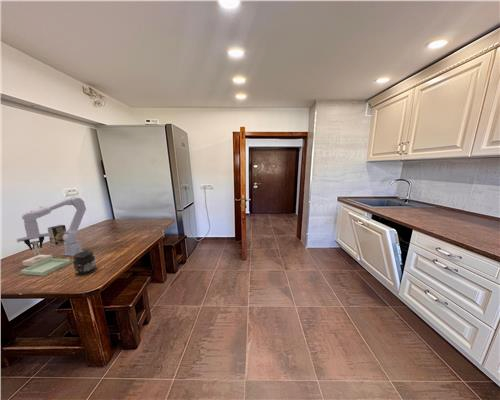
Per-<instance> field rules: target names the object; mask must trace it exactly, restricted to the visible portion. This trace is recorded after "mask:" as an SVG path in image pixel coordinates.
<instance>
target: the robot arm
mask: <svg viewBox="0 0 500 400" xmlns="http://www.w3.org/2000/svg"><path fill="white" fill-rule="evenodd" d="M64 206H73V207H74V209H76V211H75V212H74V215H73V218H72V221H71V223H70V225H69V228H68V230H67V229H66V233H65V234H64V235H63V237H62V238H63V240H65V242H64V244H63V246H64V252H65V253H63V254H62V256H71V257H73V256H74V255H75V254H77V253H80V252H83V251H84V250H83V248H82V244H81V242H78V241H77V240H78V237H77V236H78V230H79V227H80V225H81V222H82V221H83V217H84V215H85V213H86V210H87V207H86V204H85V201H84V200H83V199H82V198H81V197H77V196H71V197H67V198H64V199H63V200H61V201H58V202H56V203H54V204H51V205H49V206H45V205H43V206H42V205H41V206H39V208H36V209H33V210H30V212H29V211H28V212H25V213H23V214H22V216H21V219H22V220H23V223H24V229H25V233H26V236H24V237H20V238H16V243H21V242H24V244H26V246H28V248H29V250H30V251H32V250H33V246H32V244H30V242H31V241H30V240H36V239H38V241H39V249H43V243H44V240H45V237H49V236H50V234H49V233H48V232H47V233H41V232H40V228H39V225H38V222H37V219H39V218H42V217H45V216H47V215H49V214H51V213H52V212H53V211H54V210H57V209H59V208H61V207H64Z"/></svg>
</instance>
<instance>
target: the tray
mask: <svg viewBox="0 0 500 400" xmlns="http://www.w3.org/2000/svg"><path fill="white" fill-rule="evenodd" d="M71 263H72V259H69V258H68V259H67V258H50V259H48V260H45V261H43V262H40V263H38V264H35V265H33V266H27V267H25V268H23V269H21V270H20V275H26V276H39V277H43V276H47V275H49V274H51V273H53V272H55V271H57V270H59V269H62V268H63V267H65V266H68V265H70V264H71Z"/></svg>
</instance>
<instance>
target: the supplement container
mask: <svg viewBox="0 0 500 400" xmlns="http://www.w3.org/2000/svg"><path fill="white" fill-rule="evenodd" d="M82 251H83V252H80V253H77V254H75V255H74V256H72V258H73V259H72V264H73V271H74V274H75V275H76V276H84V275H88V274H91V273H93V272H94V271H96V269H97V263H96V256H95V254H94V251H93V250H85V251H84V250H82Z"/></svg>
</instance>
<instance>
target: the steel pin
mask: <svg viewBox="0 0 500 400" xmlns="http://www.w3.org/2000/svg"><path fill="white" fill-rule="evenodd" d="M30 244H31V246H32V250H33V254H34V256H38V255H41V253H40V245H39V244H40V242H39V240H34V241H30Z"/></svg>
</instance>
